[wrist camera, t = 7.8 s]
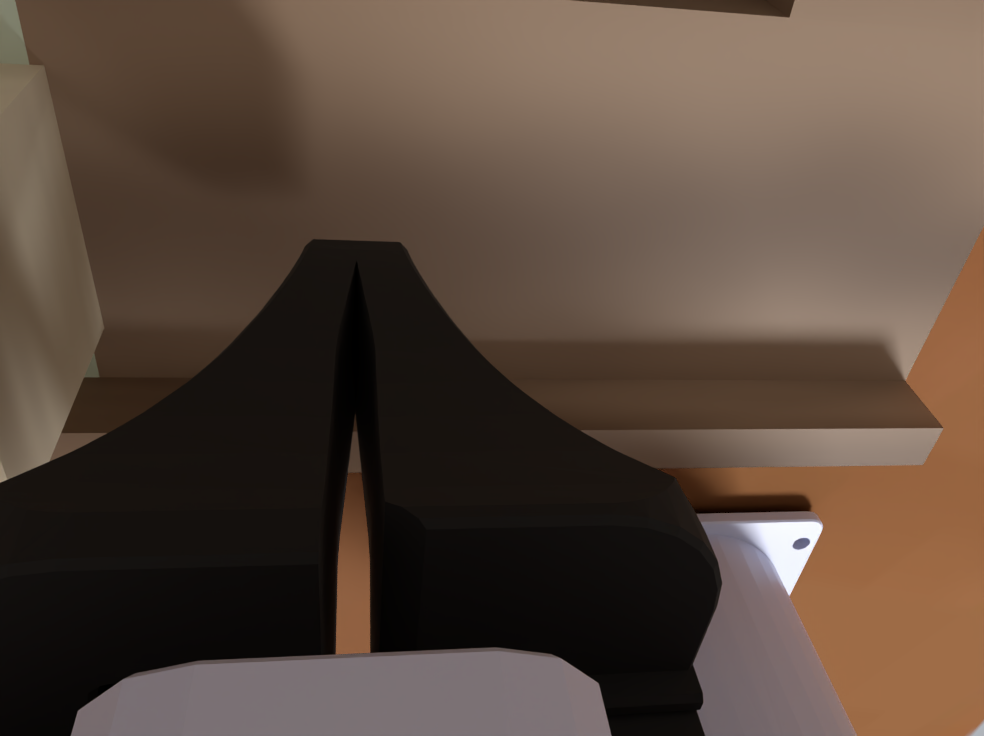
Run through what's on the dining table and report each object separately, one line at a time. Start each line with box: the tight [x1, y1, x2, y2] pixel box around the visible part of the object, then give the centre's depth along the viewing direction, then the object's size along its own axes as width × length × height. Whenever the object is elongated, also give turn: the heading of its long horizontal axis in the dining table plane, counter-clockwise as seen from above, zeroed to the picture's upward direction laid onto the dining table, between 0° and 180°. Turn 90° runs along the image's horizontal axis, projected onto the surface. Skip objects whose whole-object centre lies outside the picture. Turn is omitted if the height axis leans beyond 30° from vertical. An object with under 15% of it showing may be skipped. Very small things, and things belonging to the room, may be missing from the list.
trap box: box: [0, 0, 984, 473], centre depth 12 cm, size 15×22×5 cm
